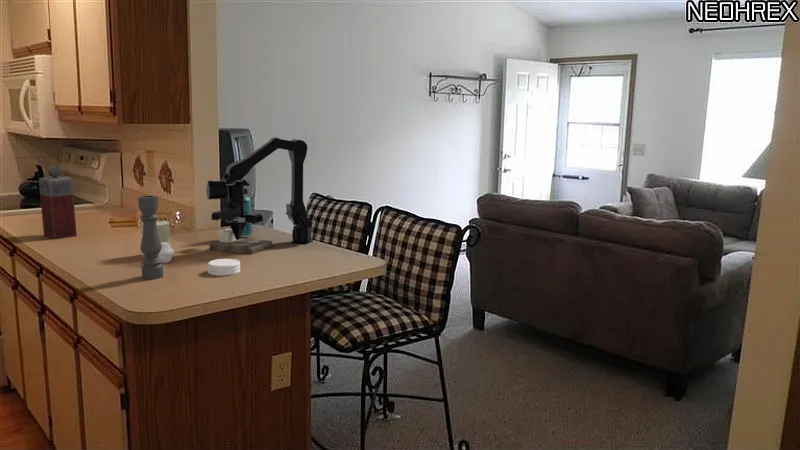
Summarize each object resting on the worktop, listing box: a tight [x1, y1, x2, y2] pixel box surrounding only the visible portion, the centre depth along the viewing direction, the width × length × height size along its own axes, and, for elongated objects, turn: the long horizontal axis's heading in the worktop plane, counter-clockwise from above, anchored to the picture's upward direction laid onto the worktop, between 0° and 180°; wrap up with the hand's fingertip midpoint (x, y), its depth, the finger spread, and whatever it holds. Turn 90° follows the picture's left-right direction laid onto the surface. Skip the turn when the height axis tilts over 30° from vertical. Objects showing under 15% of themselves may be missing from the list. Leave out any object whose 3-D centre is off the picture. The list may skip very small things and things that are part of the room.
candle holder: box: [137, 194, 164, 280], centre depth 199 cm, size 6×6×25 cm
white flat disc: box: [207, 258, 241, 277], centre depth 207 cm, size 10×10×4 cm
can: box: [140, 220, 171, 258], centre depth 228 cm, size 9×9×12 cm
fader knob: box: [218, 228, 236, 243], centre depth 243 cm, size 4×6×4 cm, turn 161°
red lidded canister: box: [38, 165, 78, 240], centre depth 257 cm, size 9×11×28 cm
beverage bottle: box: [237, 187, 253, 237], centre depth 258 cm, size 6×7×20 cm
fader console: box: [209, 237, 273, 255], centre depth 242 cm, size 18×14×2 cm
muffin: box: [158, 242, 175, 264], centre depth 219 cm, size 6×6×7 cm
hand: (237, 239), depth 242 cm, fingers closed
